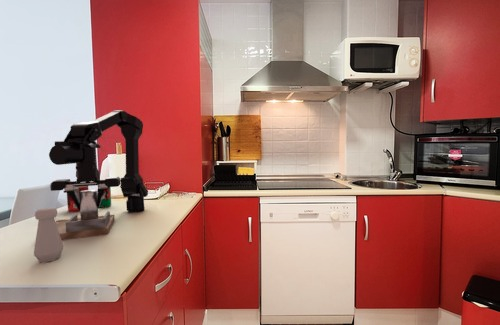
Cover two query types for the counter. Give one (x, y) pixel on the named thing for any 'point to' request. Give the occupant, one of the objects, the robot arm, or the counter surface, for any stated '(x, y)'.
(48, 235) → the salt shaker
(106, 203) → the soda can
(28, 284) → the counter surface
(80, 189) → the canned food
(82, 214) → the canister
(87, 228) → the dock
